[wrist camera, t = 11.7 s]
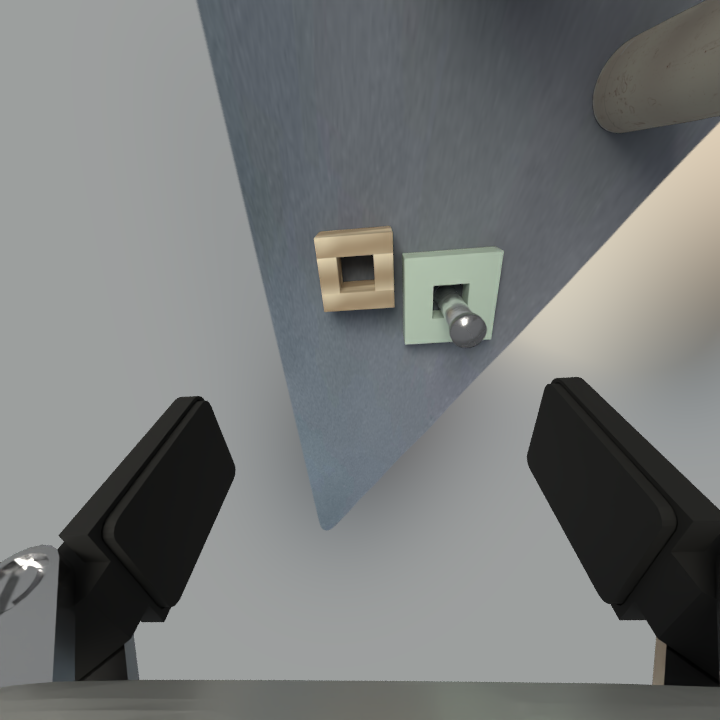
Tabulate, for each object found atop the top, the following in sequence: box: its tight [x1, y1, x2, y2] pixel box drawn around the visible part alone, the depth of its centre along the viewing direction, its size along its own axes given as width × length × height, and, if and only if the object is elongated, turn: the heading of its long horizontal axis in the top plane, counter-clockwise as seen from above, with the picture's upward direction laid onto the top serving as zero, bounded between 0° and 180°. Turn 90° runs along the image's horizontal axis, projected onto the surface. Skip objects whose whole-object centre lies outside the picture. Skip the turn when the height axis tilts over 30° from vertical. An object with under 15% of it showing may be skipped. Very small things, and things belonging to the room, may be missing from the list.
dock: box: [402, 246, 504, 345], centre depth 43 cm, size 12×12×3 cm
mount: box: [314, 226, 394, 312], centre depth 40 cm, size 9×9×5 cm
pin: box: [434, 285, 487, 348], centre depth 39 cm, size 4×4×12 cm
